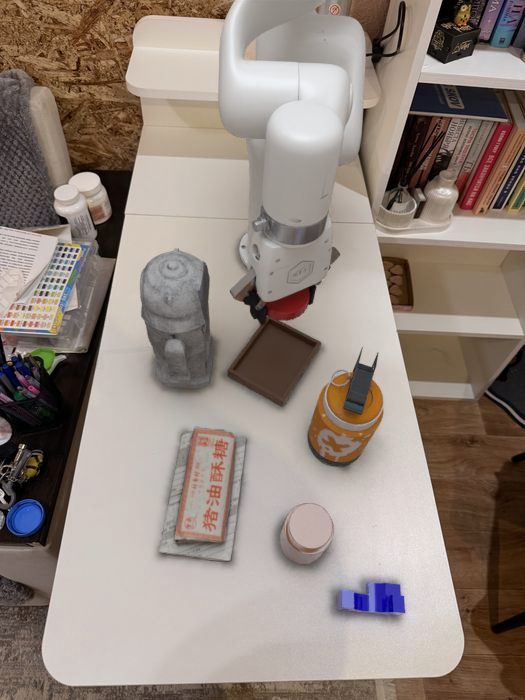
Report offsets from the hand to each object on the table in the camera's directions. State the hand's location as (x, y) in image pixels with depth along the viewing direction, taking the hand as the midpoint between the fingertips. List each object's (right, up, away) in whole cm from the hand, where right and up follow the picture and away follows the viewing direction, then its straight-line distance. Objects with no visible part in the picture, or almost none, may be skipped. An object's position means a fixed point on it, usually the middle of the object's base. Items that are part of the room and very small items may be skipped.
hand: (282, 306), depth 73 cm
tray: (-1, -8, +14) cm, 16 cm away
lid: (0, +2, -3) cm, 3 cm away
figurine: (-16, -8, +14) cm, 23 cm away
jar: (+3, -33, -1) cm, 33 cm away
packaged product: (-11, -27, +2) cm, 30 cm away
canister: (+9, -20, +8) cm, 23 cm away
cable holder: (+11, -40, -4) cm, 42 cm away
